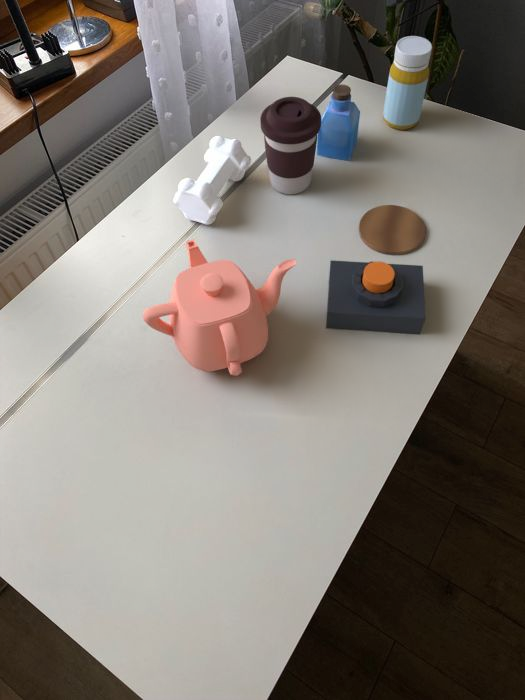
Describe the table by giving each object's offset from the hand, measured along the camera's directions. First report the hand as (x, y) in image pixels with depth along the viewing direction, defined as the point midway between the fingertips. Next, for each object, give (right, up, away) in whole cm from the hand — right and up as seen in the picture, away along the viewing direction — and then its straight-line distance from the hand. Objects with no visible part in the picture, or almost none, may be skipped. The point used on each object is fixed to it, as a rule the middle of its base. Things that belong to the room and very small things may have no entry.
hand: (394, 4), depth 100 cm
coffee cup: (-17, -27, +9) cm, 33 cm away
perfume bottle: (-8, -19, +14) cm, 25 cm away
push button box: (-5, -51, -7) cm, 51 cm away
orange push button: (-5, -47, -12) cm, 49 cm away
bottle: (+5, -13, +18) cm, 22 cm away
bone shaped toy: (-30, -30, +8) cm, 44 cm away
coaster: (0, -37, +1) cm, 37 cm away
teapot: (-28, -55, -9) cm, 62 cm away
